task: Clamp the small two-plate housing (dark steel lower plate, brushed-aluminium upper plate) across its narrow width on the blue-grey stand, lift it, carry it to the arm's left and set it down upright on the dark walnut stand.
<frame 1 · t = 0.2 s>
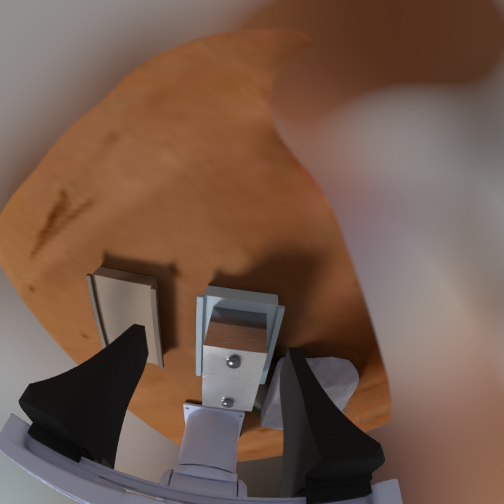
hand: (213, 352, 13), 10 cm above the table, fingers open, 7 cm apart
bluegrey stand: (236, 333, 25), on the table
walnut stand: (132, 315, 25), on the table
stone block: (308, 386, 29), on the table
housing: (235, 344, 24), point 1 cm above the table, touching bluegrey stand
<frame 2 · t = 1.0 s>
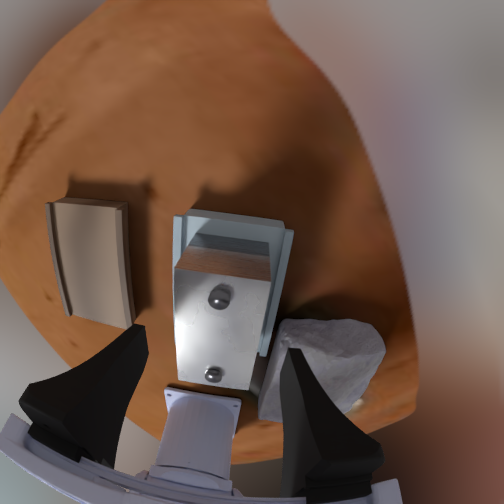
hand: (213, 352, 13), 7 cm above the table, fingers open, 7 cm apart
bluegrey stand: (228, 282, 19), on the table
walnut stand: (98, 261, 19), on the table
stone block: (318, 364, 23), on the table
housing: (225, 293, 18), point 1 cm above the table, touching bluegrey stand
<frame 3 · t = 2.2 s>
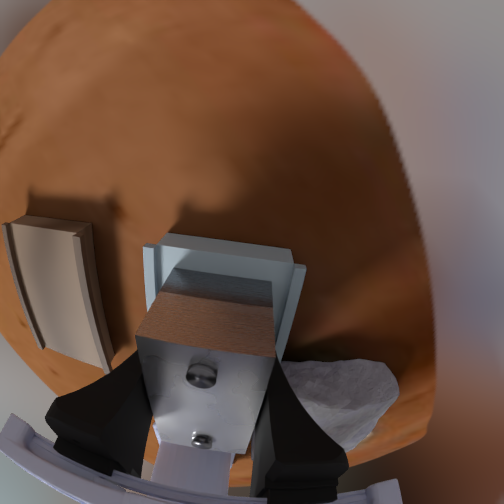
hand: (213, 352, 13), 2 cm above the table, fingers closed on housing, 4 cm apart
bluegrey stand: (219, 322, 15), on the table
walnut stand: (66, 290, 15), on the table
stone block: (320, 402, 19), on the table
housing: (216, 340, 14), point 1 cm above the table, touching bluegrey stand, gripper
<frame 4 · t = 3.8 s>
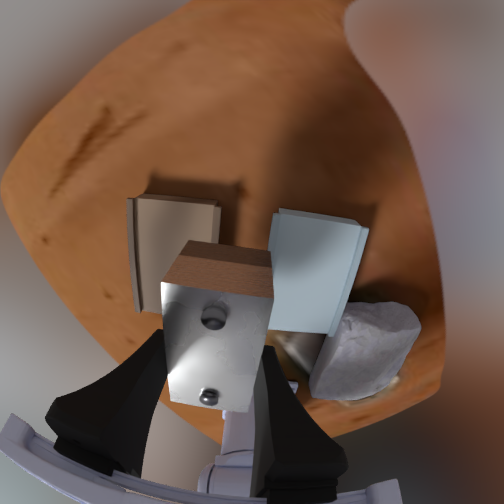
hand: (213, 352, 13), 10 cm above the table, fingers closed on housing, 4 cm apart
bluegrey stand: (305, 272, 22), on the table
walnut stand: (177, 256, 22), on the table
stone block: (362, 343, 26), on the table
housing: (222, 307, 16), point 6 cm above the table, touching gripper
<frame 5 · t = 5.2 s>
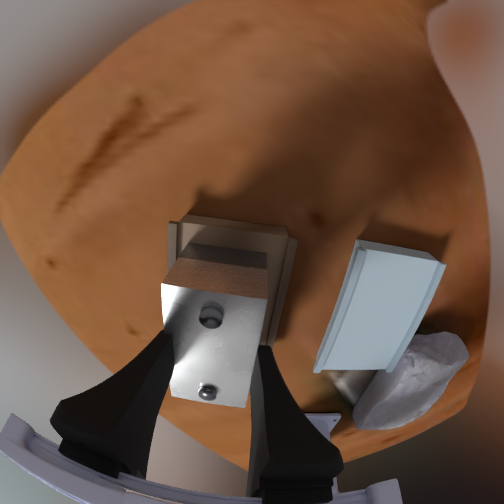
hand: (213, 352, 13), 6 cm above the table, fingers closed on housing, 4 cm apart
bluegrey stand: (372, 308, 18), on the table
walnut stand: (227, 292, 18), on the table
stone block: (408, 372, 22), on the table
housing: (221, 306, 17), point 1 cm above the table, touching gripper, walnut stand
when the fingers open (3 cm above the table, at t = 6.2 s): housing stays where it is, resting on walnut stand.
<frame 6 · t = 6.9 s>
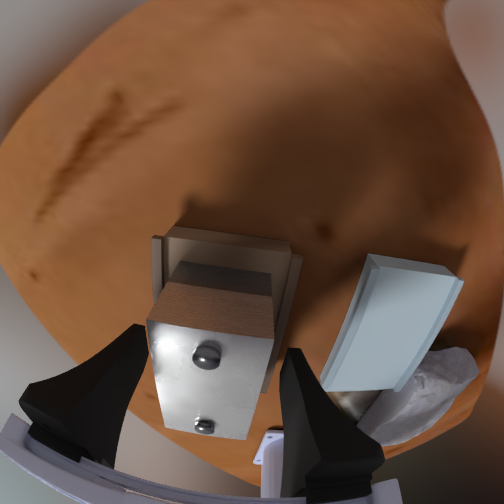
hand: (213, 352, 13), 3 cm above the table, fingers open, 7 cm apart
bluegrey stand: (382, 327, 16), on the table
walnut stand: (221, 312, 16), on the table
stone block: (415, 388, 20), on the table
housing: (218, 330, 15), point 1 cm above the table, touching walnut stand
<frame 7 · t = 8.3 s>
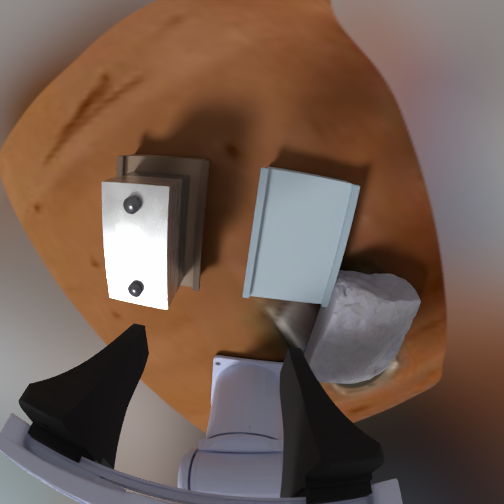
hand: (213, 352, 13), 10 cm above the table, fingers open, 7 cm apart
bluegrey stand: (296, 235, 21), on the table
walnut stand: (165, 218, 21), on the table
stone block: (358, 321, 25), on the table
housing: (158, 225, 20), point 1 cm above the table, touching walnut stand
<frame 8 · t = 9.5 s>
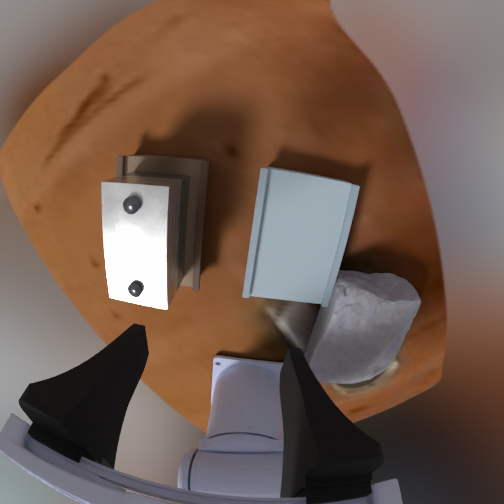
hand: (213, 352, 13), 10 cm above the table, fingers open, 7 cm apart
bluegrey stand: (296, 235, 21), on the table
walnut stand: (164, 218, 21), on the table
stone block: (358, 321, 25), on the table
housing: (158, 225, 20), point 1 cm above the table, touching walnut stand
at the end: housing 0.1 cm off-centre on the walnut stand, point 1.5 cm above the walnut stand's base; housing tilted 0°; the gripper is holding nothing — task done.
